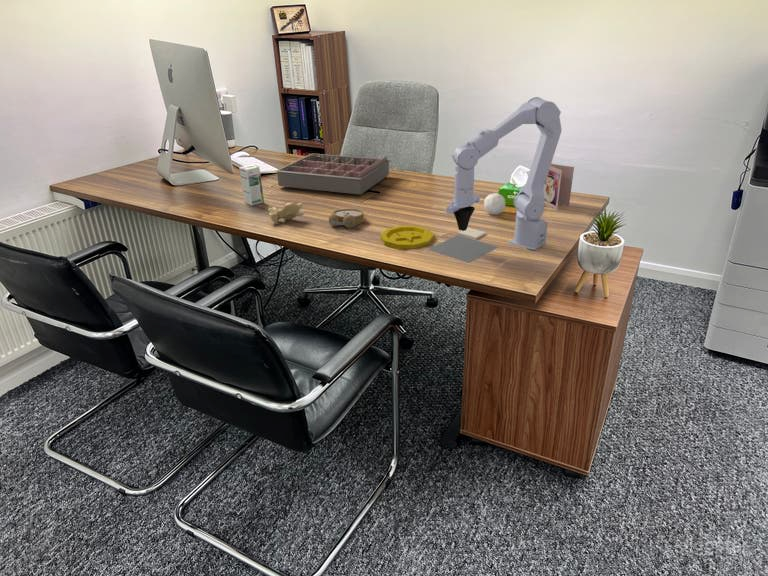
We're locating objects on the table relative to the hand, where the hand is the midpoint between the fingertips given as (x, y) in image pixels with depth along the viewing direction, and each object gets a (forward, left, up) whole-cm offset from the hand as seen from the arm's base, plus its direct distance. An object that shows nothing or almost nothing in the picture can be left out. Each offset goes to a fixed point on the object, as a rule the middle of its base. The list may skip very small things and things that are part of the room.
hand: (462, 229), depth 174 cm
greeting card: (-2, -57, -7) cm, 57 cm away
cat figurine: (+63, +20, -7) cm, 66 cm away
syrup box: (+90, +15, -7) cm, 92 cm away
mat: (-1, 0, -6) cm, 6 cm away
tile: (+4, -8, -6) cm, 11 cm away
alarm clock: (+45, +8, -7) cm, 46 cm away
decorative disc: (+18, +5, -7) cm, 20 cm away
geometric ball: (+10, -34, -7) cm, 36 cm away
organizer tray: (+85, -24, -7) cm, 89 cm away
